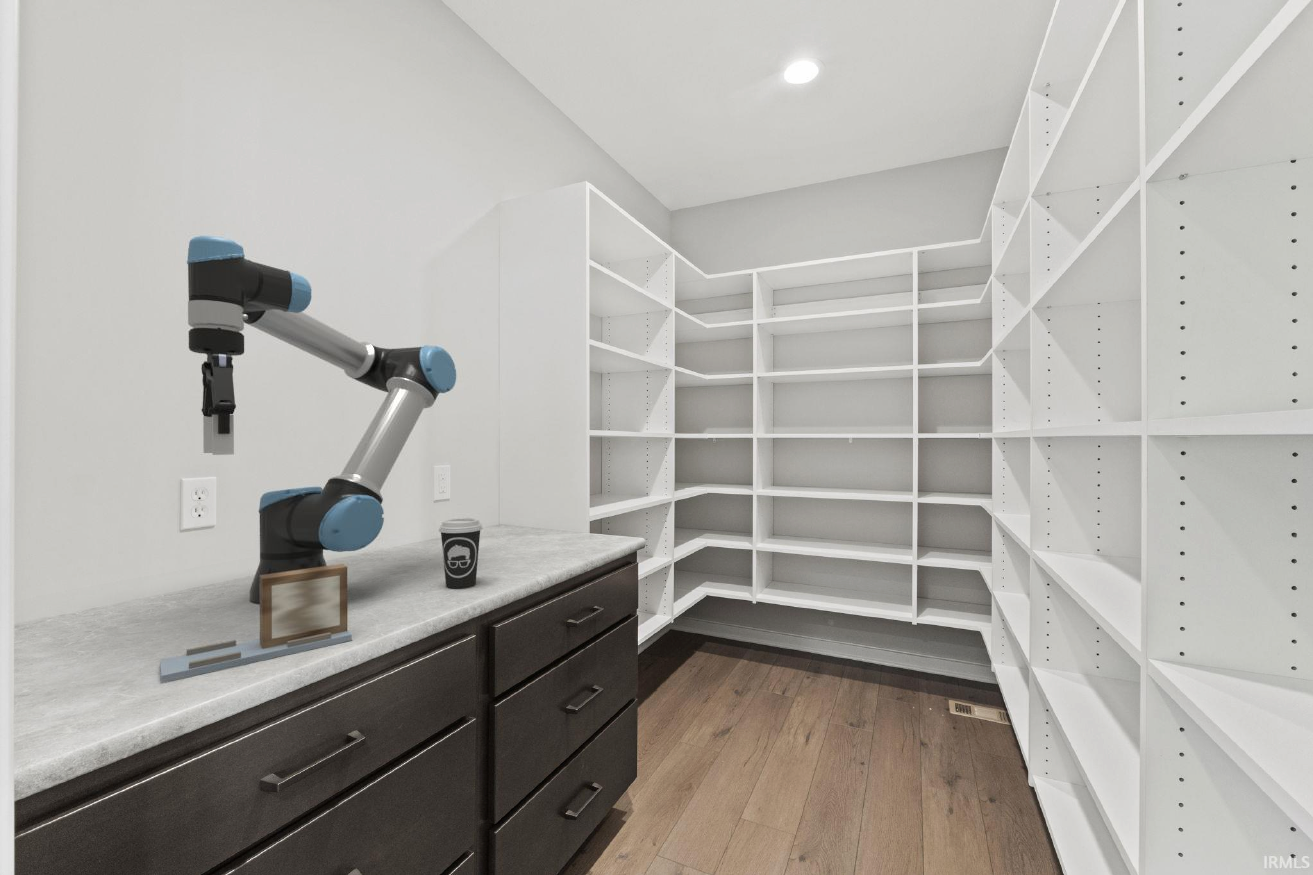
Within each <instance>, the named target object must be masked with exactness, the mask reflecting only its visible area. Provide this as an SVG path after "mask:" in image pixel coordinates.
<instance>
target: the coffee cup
mask: <svg viewBox="0 0 1313 875" xmlns="http://www.w3.org/2000/svg"><path fill="white" fill-rule="evenodd" d="M438 528H439V529H438V532H439V533H440V536H441V545H442V546H441V547H442V555H443V556H442V558H443V566H444V567H443V568H444V578H445V588H447V589H450V590H451V589H453V590H462V589H468V588H472V587H474V586H476V585H477V584H476V583H477V574H478V573H477V572H478V563H479V562H478V560H479V549H480V540H481V539H480V537H481V531H482V530H483V525H482V524H481V523H480V520H479V519H478V518H473V517H472V518H470V517H460V518H450V519H449V518H448V519H445V520H443V521H442V523H441V525H440V526H439V527H438Z"/></svg>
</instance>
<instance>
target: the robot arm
mask: <svg viewBox="0 0 1313 875" xmlns="http://www.w3.org/2000/svg"><path fill="white" fill-rule="evenodd" d="M187 251H188V252H187V261H186V265H187V277H188V278H187V281H188V285H187V286H188V290H187V291H188V301H187V324H188V326H189V327H192V328H190V329H189V330H188V349H189V351H190V352H192V353H196V354H205V355H207V356H206V360H204V361H203V362H202V364H201V368H200V369H201V374H202V379H201V380H202V387H203V391H202V407H201V412H202V415H203V418H202V419H203V420H202V421H203V425H202V426H203V430H202V432H203V434H202V436H203V446H202V447H203V454H212V456H214V455H215V456H221V455H225V456H226V455H234V454H235V442H234V441H235V439H234V438H235V437H234V435H235V434H234V433H235V432H234V431H235V430H234V427H235V424H234V422H235V421H234V418H235V417H234V413H235V410H236V408H237V405H236V401H235V400H236V399H235V390H234V388H235V387H234V376H233V374H234V365H233V359H234V358H233V356H234V357H236V356H241V355H244V353H245V335H244V334H243V333H242V331H243V330H245V329H244V328H245V326H244V325H245V324H247V325H249V326H251V327H253V328H255V329H257V330H259V331H260V332H264V333H265V334H268V335H269V336H271V337H273V338H276V339H278V340H280V341H282V342H284V343H287V344H289V345H290V346H293V347H295V348H297V349H299V350H301V351H303V352H306V353H308V354H310V355H312V356H314V357H316V358H319V359H321V360H323V361H325V362H327V363H329V364H330V365H333V366H335V367H337V368H339V369H341V370H343V371H344V374H345V375H346V376H347V377H349V378H350V379H353V380H355V381H357V382H359V383H362V384H364V385H366V386H369V387H370V388H374V389H376V390H379V391H382V392H384V393H387V394H386V397H385V398H384V400H383V402H382V403H381V405H380V406H379V408H378V410H377V412H376V414H375V416H374V417H373V419H372V420H371V422H370V424H369V426H368V428H367V429H366V431H365V433H364V434H363V436H362V438H361V439H360V441H359V443H358V444H357V446H356V448H355V450H354V451H353V453H352V454H351V456H350V457H349V460H348V461H347V463H346V464H345V467H344V468H343V469H342V472H341V474H340V475H336V476H332V477H330V478H329V479H328V480H327V482H326V483H325V486H323V488H322V487H321V486H306V487H297V488H289V489H281V490H273V491H267V492H264V493H263V494H262V495H261V497H260V501H259V509H258V513H259V563H258V566H257V569H256V571H255V574H254V577H253V581H252V582H251V585H250V588H249V601H250V602H252V603H256V604H260V577H259V575H265V574H272V573H280V572H287V571H294V570H301V569H308V568H316V567H323V566H328V565H327V564H328V563H326V559H325V557H324V551H325V550H326V551H331V552H337V553H343V552H355V551H359V550H362V549H363V548H366V547H367V546H369V545H370V544H372V543H373V542H374V541H375V540H376V538H377V537H378V536H379V534H380V533H381V530H382V528H383V525H384V522H385V521H384V520H385V517H383V515H384V513H385V512H384V508H383V506H382V504H383V501H384V498H383V496H382V494H381V489H382V488H383V486H384V484H385V482H386V480H387V479H388V476H389V475H390V472H391V471H392V469H393V468H394V466H395V463H396V462H397V459H398V457H399V456H400V454H401V452H402V450H403V449H404V446H405V445H406V442H407V441H408V439H409V437H410V435H411V433H412V432H413V429H414V428H415V426H416V424H417V422H418V420H419V418H420V416H421V414H422V412H423V411H424V409H428V408H431V407H432V406H433V405H434V404H435V402H436V400H437V398H438V396H439V395H440V394H446V393H447V392H450V391H452V389H454V387H455V385H456V382H457V368H456V365H455V362H454V360H453V357H452V356H451V355H450V353H449V352H448V351H447V350H446V349H444V348H443V347H441V346H436V345H423V346H416V347H415V346H414V347H400V348H386V347H385V348H383V347H379V346H376V345H373V344H371V343H369V342H367V341H361V342H359V341H357V340H355V339H353V338H352V337H350V336H348V335H346V334H345V333H343V332H340V331H338V330H336V329H334V328H333V327H330V326H329V325H327V324H325V323H323V322H321V321H320V320H317V319H316V318H314V317H312V316H310V315H308V314H306V313H305V312H304V311H305V310H306V309H308V307H309V305H310V303H311V301H312V297H313V296H312V285H311V284H310V282H309V281H308V279H306V278H305V277H304V276H302V275H300V274H297V273H294V272H291V271H290V270H285V269H280V268H277V267H273V266H270V265H266V264H262V263H259V262H256V261H252V260H249V259H246V258H245V252H244V248H243V246H242V245H241V244H240V243H238V242H235V240H231V239H227V238H224V237H221V236H220V237H219V236H214V235H199V236H194V237H192V238H191V239H190V240H189V243H188V249H187Z"/></svg>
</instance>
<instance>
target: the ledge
mask: <svg viewBox="0 0 1313 875" xmlns="http://www.w3.org/2000/svg"><path fill="white" fill-rule="evenodd" d="M350 641H353V640H352V633H351V632H350V631H349V630H348V631H344V632H340V633H335V634H331V633H330V632H329V633H324V634H320V635H315V636H310V637H305V638H301V639H296V640H291V641H287V644H283V645H278V646H274V647H269V648H264V649H262V647H261V645H260V638H258V639H254V640H248V641H244V642H238V643H237V640H236V639H233V640H226V641H220V642H217V643H212V644H211V643H210V644H206V645H202V646H197V647H196V646H195V647H191V648H186V653H184V654H180V655H174V656H170V657H165V658H160V664H159V666H160V681H161V682H160V683H161V684H163V683H167V682H172V681H176V680H181V679H185V678H190V677H194V676H199V675H204V674H208V673H211V672H216V671H217V672H218V671H222V670H226V669H230V668H235V667H239V666H243V665H249V664H252V663H253V664H254V663H258V662H262V661H266V660H270V659H275V658H279V657H284V656H287V655H292V654H296V653H297V654H298V653H303V652H306V651H311V650H316V649H319V648H323V647H328V646H332V645H338V644H342V643H347V642H350Z"/></svg>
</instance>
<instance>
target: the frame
mask: <svg viewBox="0 0 1313 875" xmlns="http://www.w3.org/2000/svg"><path fill="white" fill-rule="evenodd" d="M259 577H260V603H259V639H260V645H261V647H262V649H264V648H269V647H274V646H278V645H283V644H287V641H291V640H296V639H301V638H305V637H310V636H315V635H320V634H324V633H329V632H330V633H331V634H335V633H340V632H344V631H348V632H349V630H348V566H347V565H345V564H343V563H337V564H331V565H327V566H323V567H316V568H308V569H301V570H294V571H287V572H280V573H272V574H265V575H259Z"/></svg>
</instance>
